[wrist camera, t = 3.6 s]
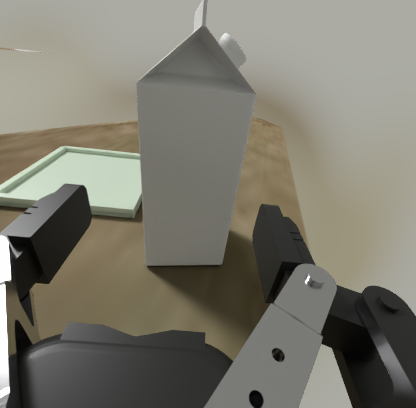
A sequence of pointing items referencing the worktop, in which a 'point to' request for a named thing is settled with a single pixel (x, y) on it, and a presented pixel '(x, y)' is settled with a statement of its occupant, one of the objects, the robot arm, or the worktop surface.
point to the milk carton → (192, 147)
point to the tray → (81, 180)
